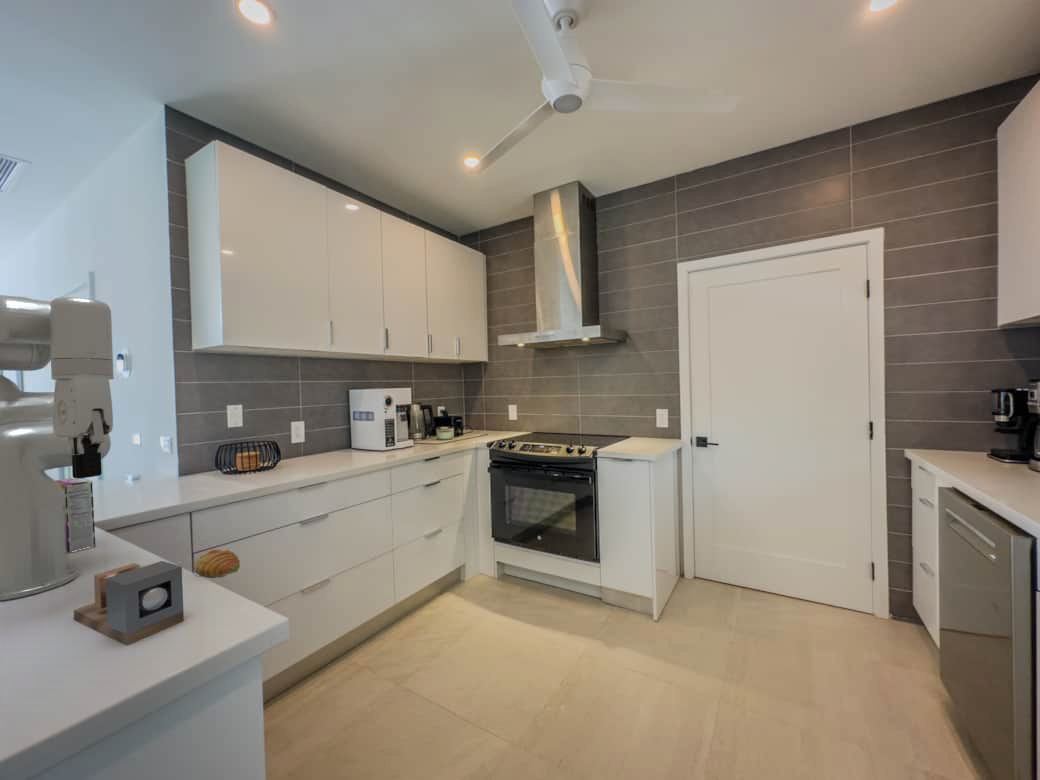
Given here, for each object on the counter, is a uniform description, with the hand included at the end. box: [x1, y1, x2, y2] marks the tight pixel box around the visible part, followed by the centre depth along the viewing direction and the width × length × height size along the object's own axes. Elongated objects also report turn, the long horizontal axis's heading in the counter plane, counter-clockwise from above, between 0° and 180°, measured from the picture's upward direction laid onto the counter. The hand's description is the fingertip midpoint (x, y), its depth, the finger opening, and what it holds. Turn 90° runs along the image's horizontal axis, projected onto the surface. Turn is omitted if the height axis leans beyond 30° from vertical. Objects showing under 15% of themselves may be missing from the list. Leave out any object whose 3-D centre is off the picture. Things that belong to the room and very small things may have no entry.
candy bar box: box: [55, 477, 96, 553], centre depth 105 cm, size 11×5×16 cm, turn 56°
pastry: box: [194, 549, 241, 579], centre depth 86 cm, size 9×7×4 cm
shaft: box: [93, 562, 168, 610], centre depth 67 cm, size 13×5×5 cm, turn 63°
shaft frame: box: [73, 560, 185, 646], centre depth 68 cm, size 18×7×8 cm, turn 63°
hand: (87, 476), depth 74 cm, fingers closed
